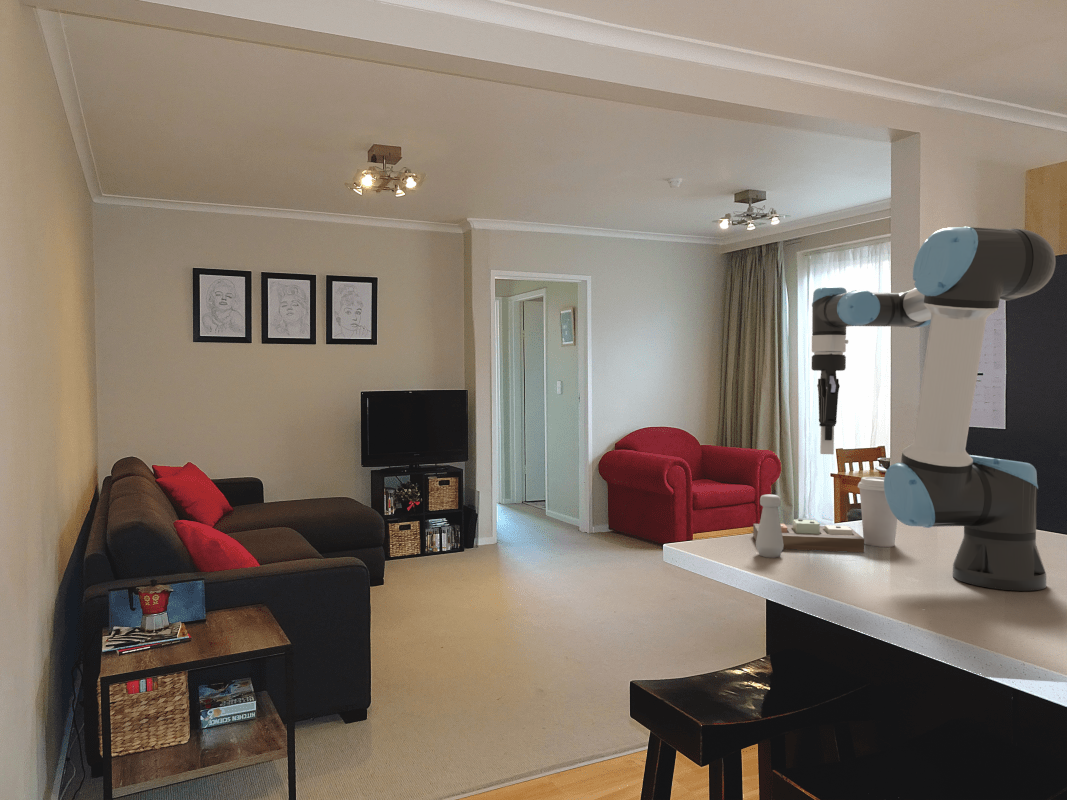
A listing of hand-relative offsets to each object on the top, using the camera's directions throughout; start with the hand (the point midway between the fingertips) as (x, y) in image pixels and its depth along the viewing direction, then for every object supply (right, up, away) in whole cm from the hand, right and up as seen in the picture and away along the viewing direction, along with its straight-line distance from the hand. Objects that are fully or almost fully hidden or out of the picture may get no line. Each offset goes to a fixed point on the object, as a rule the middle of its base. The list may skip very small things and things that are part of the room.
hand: (826, 453), depth 185 cm
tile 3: (-14, -19, -4) cm, 23 cm away
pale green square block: (-7, -18, -5) cm, 20 cm away
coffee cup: (+10, -21, -5) cm, 24 cm away
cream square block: (0, -19, -7) cm, 20 cm away
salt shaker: (-19, -21, -17) cm, 33 cm away
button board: (-7, -20, -5) cm, 22 cm away
